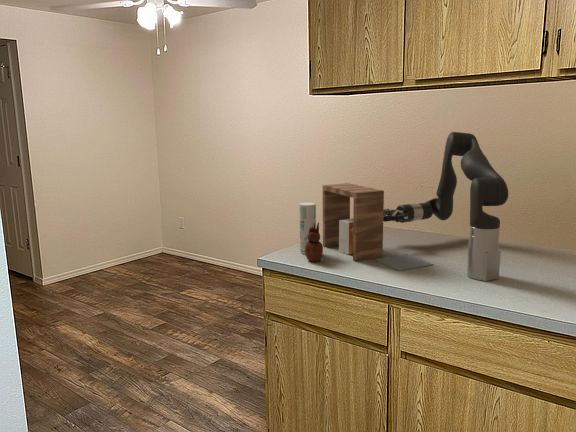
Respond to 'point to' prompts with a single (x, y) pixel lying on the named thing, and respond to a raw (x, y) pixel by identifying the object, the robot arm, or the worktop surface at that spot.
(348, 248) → the small box
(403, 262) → the mat
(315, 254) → the wooden figurine
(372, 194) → the arch
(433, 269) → the worktop surface
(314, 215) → the spray can
